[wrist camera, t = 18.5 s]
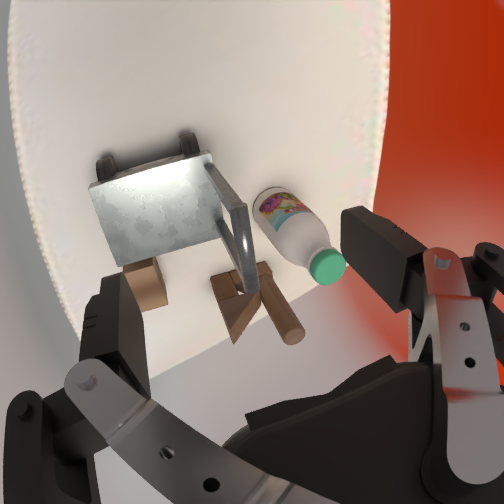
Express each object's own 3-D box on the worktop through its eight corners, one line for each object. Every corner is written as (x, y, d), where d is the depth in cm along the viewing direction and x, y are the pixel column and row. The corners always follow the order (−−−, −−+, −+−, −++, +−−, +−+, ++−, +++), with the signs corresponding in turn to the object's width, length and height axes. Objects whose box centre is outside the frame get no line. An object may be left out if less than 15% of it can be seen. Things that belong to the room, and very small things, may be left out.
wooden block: (209, 276, 58) (236, 348, 43) (265, 260, 60) (307, 324, 45) (213, 291, 60) (240, 363, 45) (267, 275, 62) (307, 340, 47)
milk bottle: (291, 225, 58) (351, 290, 41) (251, 230, 56) (299, 301, 39) (295, 185, 54) (362, 239, 37) (252, 187, 52) (307, 247, 35)
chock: (123, 254, 50) (122, 274, 45) (151, 246, 51) (153, 265, 46) (139, 291, 55) (140, 312, 50) (165, 283, 56) (168, 304, 51)
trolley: (93, 158, 41) (53, 225, 22) (199, 128, 44) (243, 169, 25) (124, 249, 50) (121, 356, 31) (217, 222, 53) (265, 314, 34)
